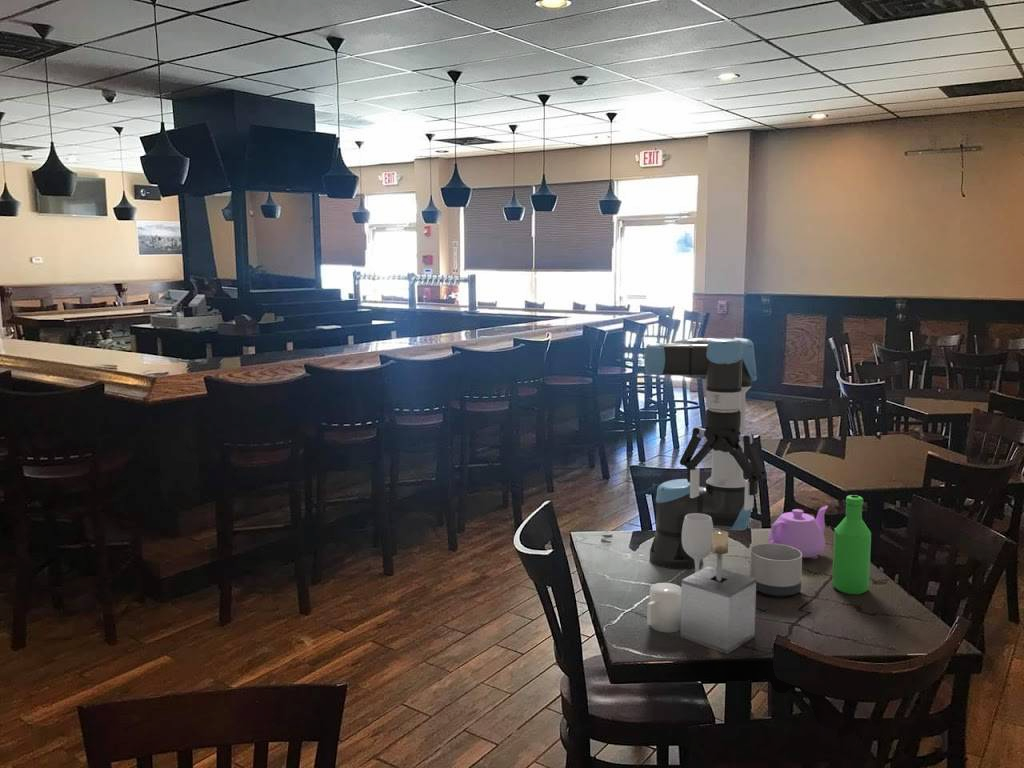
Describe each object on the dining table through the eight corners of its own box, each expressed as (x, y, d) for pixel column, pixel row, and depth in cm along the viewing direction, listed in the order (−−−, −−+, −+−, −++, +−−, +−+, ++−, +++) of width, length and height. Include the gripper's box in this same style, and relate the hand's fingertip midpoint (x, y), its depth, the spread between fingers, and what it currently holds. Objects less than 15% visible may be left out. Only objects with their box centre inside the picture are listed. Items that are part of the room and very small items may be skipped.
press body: (680, 637, 179) (681, 579, 177) (708, 620, 188) (709, 565, 186) (727, 654, 171) (729, 594, 169) (754, 636, 179) (756, 578, 177)
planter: (808, 589, 206) (810, 550, 204) (788, 604, 196) (790, 564, 195) (762, 576, 214) (763, 540, 213) (740, 591, 205) (741, 552, 203)
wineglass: (715, 590, 205) (717, 513, 202) (712, 604, 197) (714, 523, 194) (681, 587, 208) (682, 510, 205) (677, 599, 200) (678, 520, 197)
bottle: (872, 596, 200) (877, 502, 197) (835, 594, 202) (840, 500, 198) (863, 583, 209) (868, 492, 205) (829, 581, 210) (833, 491, 207)
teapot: (806, 541, 242) (808, 498, 240) (846, 557, 228) (849, 511, 226) (751, 552, 233) (752, 507, 231) (789, 569, 219) (791, 522, 217)
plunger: (688, 630, 179) (690, 532, 176) (710, 617, 186) (712, 523, 182) (725, 643, 172) (728, 542, 169) (746, 629, 179) (749, 532, 176)
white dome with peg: (635, 629, 183) (635, 593, 182) (661, 615, 191) (662, 580, 190) (662, 640, 178) (663, 602, 177) (688, 624, 186) (689, 588, 184)
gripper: (665, 405, 178) (664, 495, 181) (768, 418, 161) (764, 518, 164) (683, 401, 183) (682, 488, 186) (785, 413, 166) (781, 510, 169)
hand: (720, 502), depth 175 cm, fingers open, 13 cm apart
